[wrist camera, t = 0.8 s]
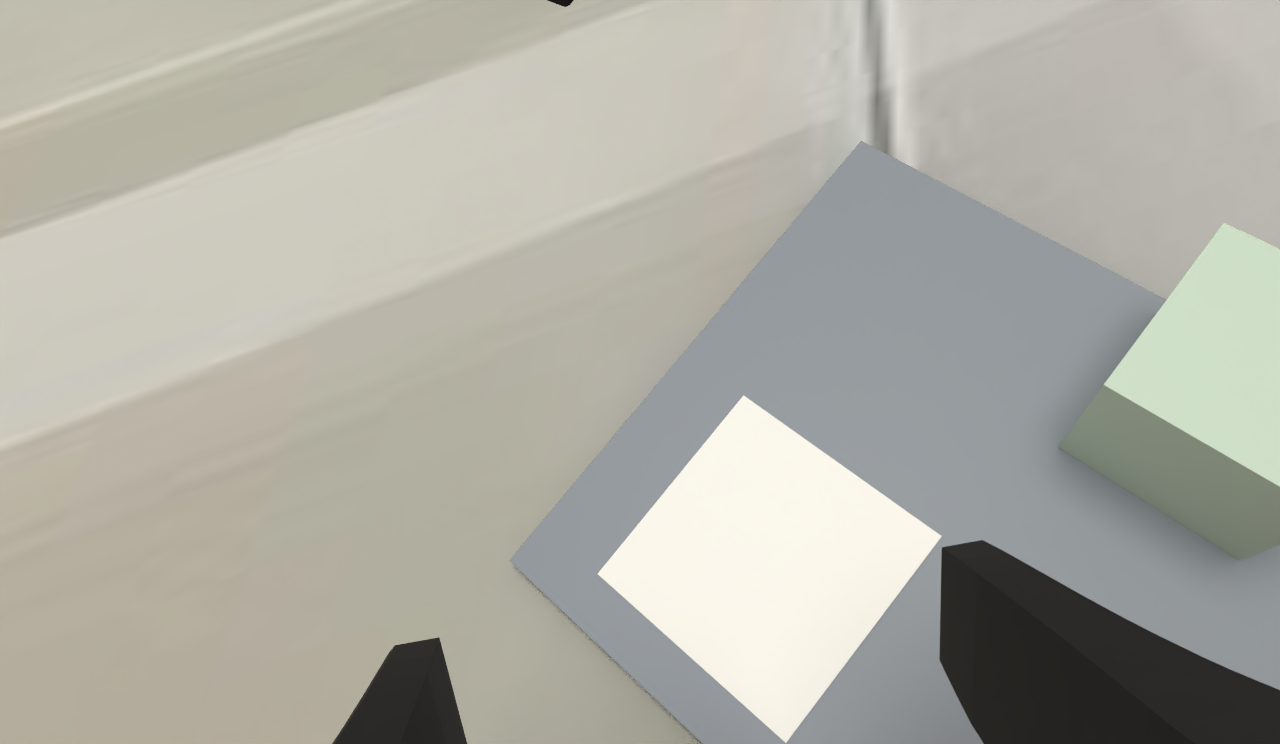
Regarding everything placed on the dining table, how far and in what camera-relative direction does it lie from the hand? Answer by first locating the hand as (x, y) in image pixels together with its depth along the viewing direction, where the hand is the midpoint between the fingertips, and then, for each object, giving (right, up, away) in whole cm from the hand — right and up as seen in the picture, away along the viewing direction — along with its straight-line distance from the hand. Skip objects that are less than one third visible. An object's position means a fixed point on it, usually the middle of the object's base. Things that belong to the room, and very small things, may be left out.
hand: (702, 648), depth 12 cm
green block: (+14, +2, +11) cm, 18 cm away
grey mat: (+9, -1, +12) cm, 15 cm away
